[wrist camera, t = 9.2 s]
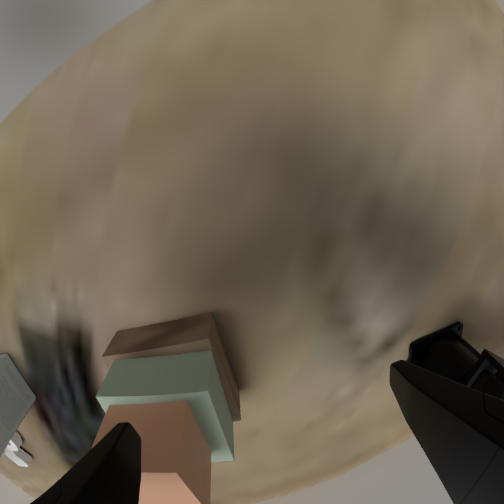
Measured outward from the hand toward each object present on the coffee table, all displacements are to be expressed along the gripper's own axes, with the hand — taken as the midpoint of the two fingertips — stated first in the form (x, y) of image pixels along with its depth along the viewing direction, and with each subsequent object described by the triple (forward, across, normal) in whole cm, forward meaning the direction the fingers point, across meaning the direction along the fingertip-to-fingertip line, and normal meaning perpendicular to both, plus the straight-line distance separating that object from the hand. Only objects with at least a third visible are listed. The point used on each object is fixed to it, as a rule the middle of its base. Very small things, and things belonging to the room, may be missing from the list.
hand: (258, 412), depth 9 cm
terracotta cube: (+5, +7, +6) cm, 11 cm away
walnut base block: (+13, +7, +6) cm, 16 cm away
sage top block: (+9, +7, +6) cm, 13 cm away
